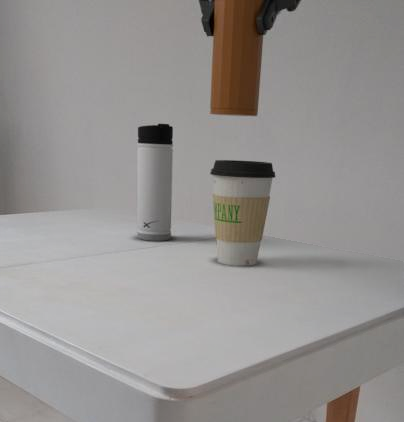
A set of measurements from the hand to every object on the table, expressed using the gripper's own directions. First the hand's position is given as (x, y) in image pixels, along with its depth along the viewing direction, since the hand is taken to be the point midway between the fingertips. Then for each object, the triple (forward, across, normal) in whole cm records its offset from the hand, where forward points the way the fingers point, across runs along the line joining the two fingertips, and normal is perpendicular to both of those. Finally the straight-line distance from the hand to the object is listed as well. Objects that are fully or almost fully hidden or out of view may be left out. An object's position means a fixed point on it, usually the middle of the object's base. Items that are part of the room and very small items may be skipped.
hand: (233, 28), depth 67 cm
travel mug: (+5, +23, -38) cm, 45 cm away
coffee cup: (+13, +2, -30) cm, 33 cm away
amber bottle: (+5, 0, -8) cm, 9 cm away
